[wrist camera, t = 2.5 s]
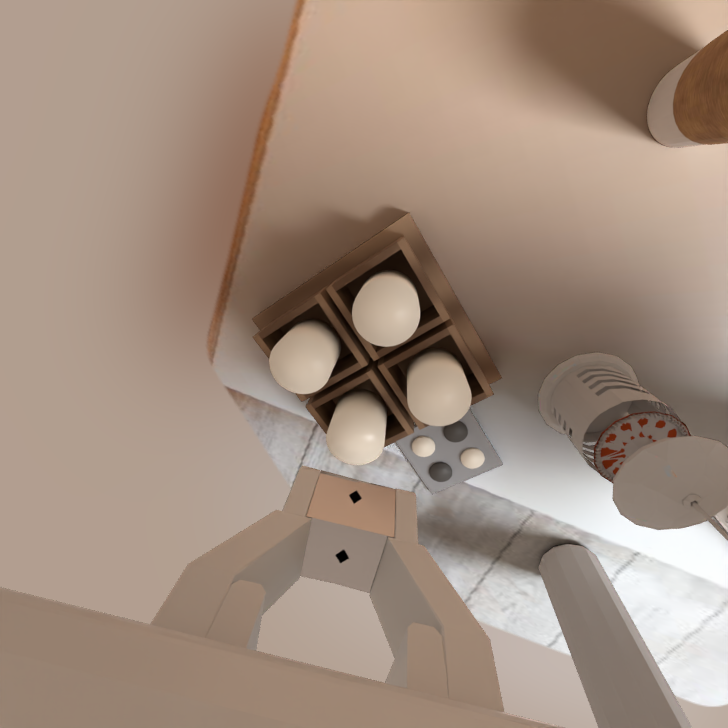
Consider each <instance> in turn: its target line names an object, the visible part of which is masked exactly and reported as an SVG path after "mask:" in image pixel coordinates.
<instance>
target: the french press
mask: <svg viewBox="0 0 728 728" xmlns="http://www.w3.org/2000/svg"><path fill="white" fill-rule="evenodd" d="M638 382H639V381H638V379H637V377H636V375H635V373H634V371H633V369H632V367H631V366H630V365H629V364H627V363H626V362H624V361H623V360H622V359H620V358H619V357H618V356H614V355H610V354H605V353H600V352H594V353H588V354H581V355H576V356H574V357H572V358H570V359H568V360H566V361H564V362H562V363H560V364H558V365H557V366H556V367H555V368H554V369H553V370H552V372H551V373H550V374H549V375H548V376H547V377H546V378H545V379H544V381H543V384H542V386H541V388H540V391H539V393H538V408H539V412H540V414H541V416H542V417H543V419H544V421H545V422H546V424H547V425H548V426H550V427H551V428H553V429H554V430H556V431H557V432H559V433H561V434H566V435H567V436H568V438H569V439H570V441H571V442H572V443H573V445H574V446H575V447H576V449H577V450H578V451H579V453H580V454H581V456H582V457H583V458H584V460H585V461H586V462H587V464H588V465H589V466H590V467H592V468H593V469H594V470H596V471H597V472H598V473H600V475H601V476H602V477H604V478H605V479H607V480H609V481H610V482H612V483H613V501H614V503H615V505H616V506H617V508H618V510H619V512H620V514H621V515H623V516H624V517H626V518H627V519H629V520H630V521H631V522H633V523H634V524H636V525H639V526H643V527H648V528H652V529H657V530H663V529H679V528H685V527H689V526H693V525H696V524H700V523H702V522H705V521H707V520H708V521H709V522H710V523H711V524H712V525H713V526H714V527H715V528H716V529H717V530H718V531H719V532H720V533H721V534H722V535H723V536H724V537H725V538H726V539H727V540H728V534H727V533H726V532H725V531H724V530H723V529H722V528H721V527H720V526H719V525H718V524H717V523H716V522H715V521H714V520H713V519H712V517H713V516H715V515H716V514H717V513H719V512H720V511H722V510H723V509H725V508H726V507H727V506H728V447H727V446H725V445H724V444H723V443H721V442H720V441H717V440H713V439H708V438H703V437H699V436H691V435H690V433H689V431H688V429H687V426H686V424H684V423H683V422H681V421H680V419H679V418H678V416H677V415H676V413H675V412H674V411H673V409H671V408H670V407H669V406H668V405H666V404H665V403H663V402H662V401H660V400H659V399H658V398H657V397H655V396H654V395H652V394H651V393H650V392H648V391H647V390H646V389H644V388H643V387H641V386H640V385H639V384H638ZM638 386H639V387H638ZM639 389H640V390H642V392H639ZM645 391H646V392H647V393H645ZM648 400H650V401H651V403H650V402H648ZM656 402H659V404H660V410H659V409H657V408H656ZM661 402H662V403H663V404H665V405H666V407H667V409H668V410H669V412H670V415H669V414H665V407H664V406H663V404H662V403H661ZM629 414H630V415H629ZM627 415H628V416H627ZM569 435H570V436H571V437H570V436H569ZM596 441H597V443H596V445H590V446H588V445H585V444H583V442H586V443H587V442H596ZM583 447H584V448H588V449H591V450H594V453H593V452H589V451H586V450H583ZM582 451H583V452H584V453H585V454H588V455H591V456H594V459H592V458H589V457H587V456H586V455H585V454H584V453H582ZM583 455H584V456H585V457H586V458H585V457H584V456H583ZM587 458H588V459H589V460H590V461H591V462H594V465H593V464H592V463H591V462H590V461H589V460H588V459H587Z"/></svg>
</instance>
